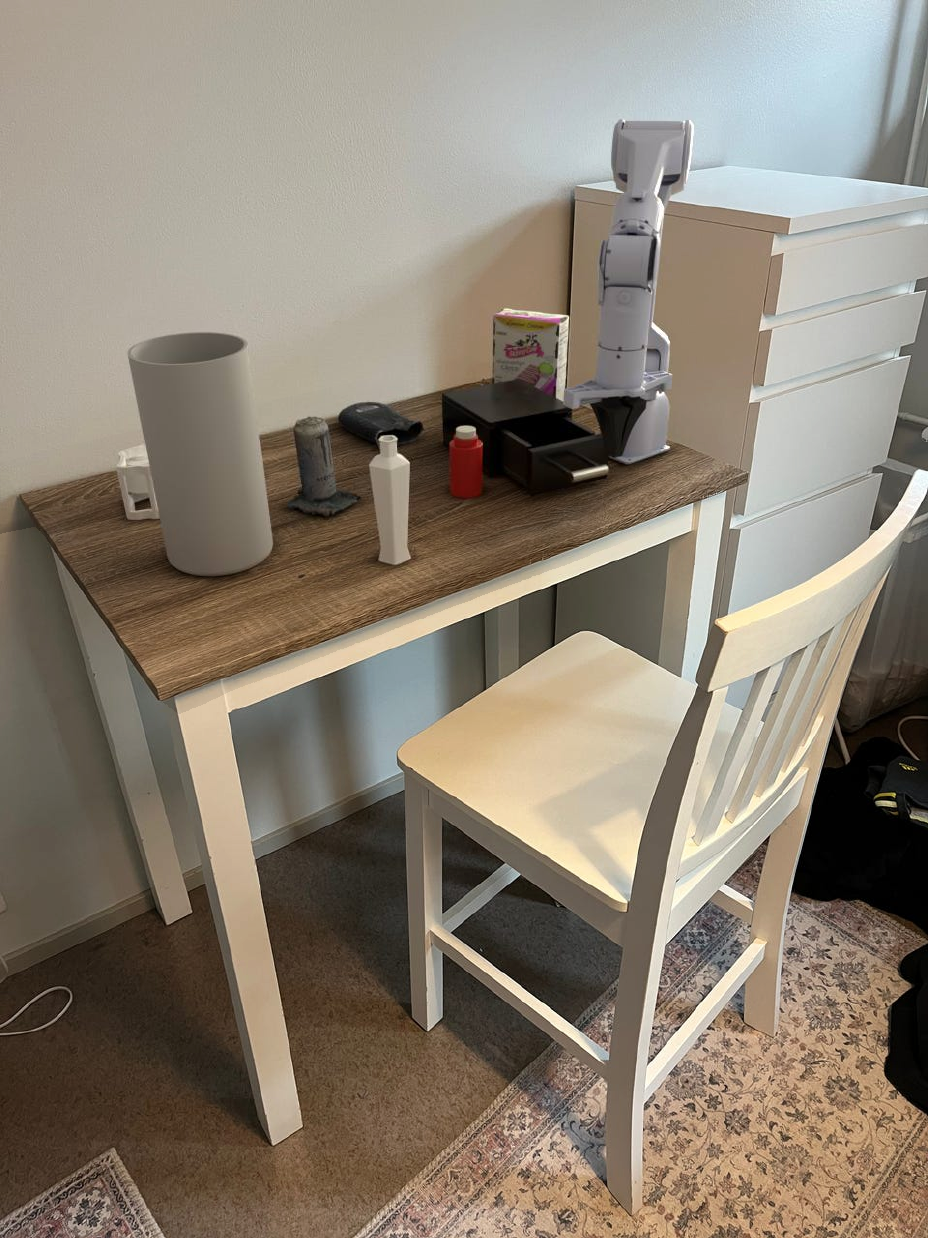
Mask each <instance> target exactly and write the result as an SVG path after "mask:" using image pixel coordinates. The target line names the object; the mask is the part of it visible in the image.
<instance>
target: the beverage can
mask: <svg viewBox="0 0 928 1238" xmlns="http://www.w3.org/2000/svg"><path fill="white" fill-rule="evenodd" d="M292 431H293V437H294V443H295V445H294V446H295V452H296V458H297V464H298V471H299V479H300V485H301V488H298V489H297V490H296V491H297V494H296V495H294V497H293V498H292V500H288V501H287V508H289V510H292V509H298V510H301V511H302V512H303V513H304V514H306V515H308V514H312V515H316V514H318V515H321V516H324V517H328V518H330V515H334V514H335V515H336V513H338V512H339V511H341V510H343V511H344V510H345V509H346V508H349V507H350V506H352V505H353V503H355V504H356V503H357V502H359V500H360V501H363V500H362V496H359V495H358V494H357V493H355V492H352V491H346V490H342V489H337V485H336V484H337V483H336V477H335V469H334V462H333V454H332V453H333V452H332V447H331V438H330V432H329V426H328V424H327V422H326V421H325V420H324V419H323V418H322V417H317V416H308V415H307V417H306V418H302V419H300V418H298V419H296V421H295V424H294V426H293V429H292Z"/></svg>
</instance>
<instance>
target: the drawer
mask: <svg viewBox="0 0 928 1238" xmlns="http://www.w3.org/2000/svg"><path fill="white" fill-rule="evenodd" d="M494 428H495V435H494V465H495V466H496V467H498V468H499V469H501V470H502V471H503V472H505V473H506V475H508V477H511V478H512V479H514V480H515V481H516V482H518V483H520V484H521V485H523V486H524V487H526V495H528V496H529V497H535V496H539V495H544V494H548V493H553V492H556V491H561V490H566V489H569V488H573V487H577V486H578V487H579V486H581V485H586V484H590V483H594V482H598V481H603V480H607V479H608V476H609V475H608V474H609V472H610V471H609V459H610V458H609V455H608V454H606V453H605V451H604V445H603V439H602V434H601V433H598V434H596V431H594V430H593V429H590V428H589V427H587V426H585V425H584V424H581V423H580V422H577V421H576V420H575V419H573V418H572V419H570V418H568V417H567V416H565V415H563V414H557V415H552V416H547V417H542V418H537V419H532V420H527V421H522V422H517V423H512V424H507V425H502V426H497V427H494Z"/></svg>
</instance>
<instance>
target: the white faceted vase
mask: <svg viewBox="0 0 928 1238" xmlns="http://www.w3.org/2000/svg"><path fill="white" fill-rule="evenodd" d="M397 440H398V439H397V438H396V437H395V436H394V435H388V436H381V437H380V438H379V441H380V449H379V452H380V453H379V454H377V455H374V457H373V458H372V460H371V461H370V462H369V464H368V469H369V474H370V482H371V490H372V495H373V496H372V497H373V503H374V511H375V518H376V523H377V530H378V531H377V532H378V538H379V545H380V550H379V555H378V561H379V562H381V563H386V564H390V565H393V566H397V565H399V564H402V563H404V562H406V561H409V560H411V559H412V558H411V554H410V551H409V547H408V534H409V533H408V527H409V502H410V501H409V500H410V499H409V497H410V468H411V467H410V466H411V463H410V461H409V460H408V459H407V458H406V457H405V456H404V455H402V454H401V453H399V452H398V447H397V446H398V445H397Z"/></svg>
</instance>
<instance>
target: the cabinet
mask: <svg viewBox="0 0 928 1238" xmlns="http://www.w3.org/2000/svg"><path fill="white" fill-rule="evenodd" d="M557 414H563V415H565V416H567V417H568V418H570V419H572V420H573V409H571V408H569V407H567V406H565V405H564V404H563V401H561V400H559V399H557V398H555V397H553V396H552V395H550V394H548V393H546V392H544V391H542V390H540V389H538V388H536V387H534V386H532V385H530V384H529V383H527V382H525V381H523V380H521V379H517V380H511V381H506V382H500V383H494V384H492V383H489V384H485V385H479V386H473V387H466V388H460V389H456V390H450V391H445V392H441V424H442V425H441V427H442V445H443V446H444V447H446V448H447V449H449V450H450V446H449V444H450V442H451V441H452V440H454V435H455V434H456V428H457V427H460V426H472V427H474V428H475V429H476V434H477V435H478V440H480V441H481V442H482V474H484V475H486V476H487V477H488V478H492V477H493V478H494V477H495V476H496V477H497V476H501V475H505V474H506V473H505V472H503V471H502V470H501V469H499V468H498V467H496V466H495V465H494V435H495V428H494V427H497V426H502V425H507V424H512V423H517V422H522V421H527V420H532V419H537V418H542V417H547V416H552V415H557ZM506 475H507V474H506Z"/></svg>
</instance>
